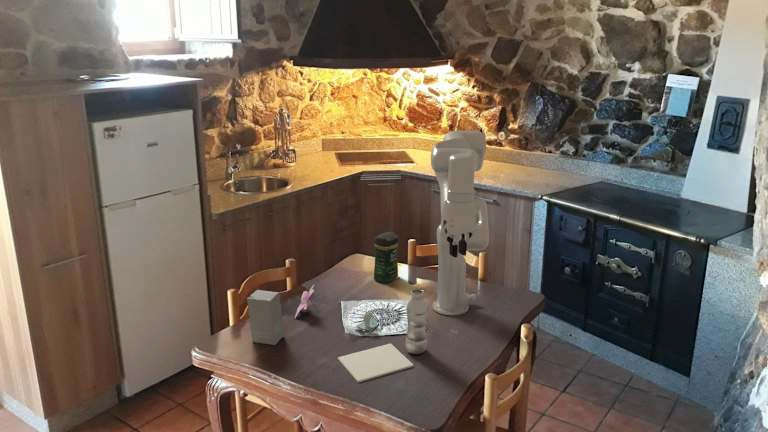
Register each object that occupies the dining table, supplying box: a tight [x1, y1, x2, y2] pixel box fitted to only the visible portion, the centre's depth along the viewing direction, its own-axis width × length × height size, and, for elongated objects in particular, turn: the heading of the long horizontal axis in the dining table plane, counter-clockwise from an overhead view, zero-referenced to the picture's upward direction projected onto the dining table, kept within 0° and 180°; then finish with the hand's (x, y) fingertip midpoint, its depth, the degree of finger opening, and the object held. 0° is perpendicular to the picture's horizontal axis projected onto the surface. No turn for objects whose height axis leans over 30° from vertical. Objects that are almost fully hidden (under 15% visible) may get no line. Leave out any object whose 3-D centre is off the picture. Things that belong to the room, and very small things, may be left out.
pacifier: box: [354, 312, 378, 331], centre depth 200 cm, size 7×6×6 cm
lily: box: [294, 284, 320, 319], centre depth 210 cm, size 12×12×10 cm
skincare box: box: [246, 289, 285, 346], centre depth 191 cm, size 8×7×16 cm
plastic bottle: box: [404, 288, 429, 355], centre depth 184 cm, size 6×7×20 cm
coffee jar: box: [373, 231, 400, 283], centre depth 237 cm, size 10×8×19 cm
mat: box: [337, 342, 414, 383], centre depth 181 cm, size 18×14×1 cm
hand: (457, 254), depth 184 cm, fingers open, 2 cm apart
